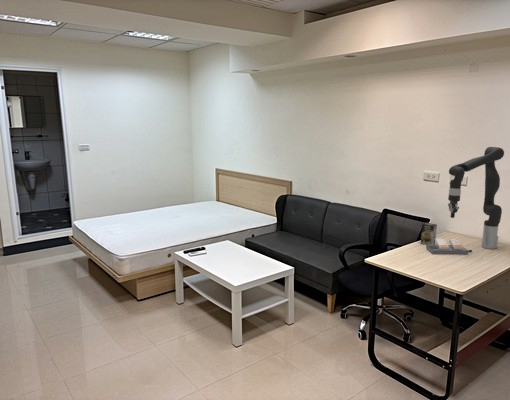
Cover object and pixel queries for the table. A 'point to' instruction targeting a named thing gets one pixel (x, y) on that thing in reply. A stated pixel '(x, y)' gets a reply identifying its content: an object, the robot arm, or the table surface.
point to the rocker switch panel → (435, 250)
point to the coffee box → (428, 233)
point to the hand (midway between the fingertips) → (452, 217)
